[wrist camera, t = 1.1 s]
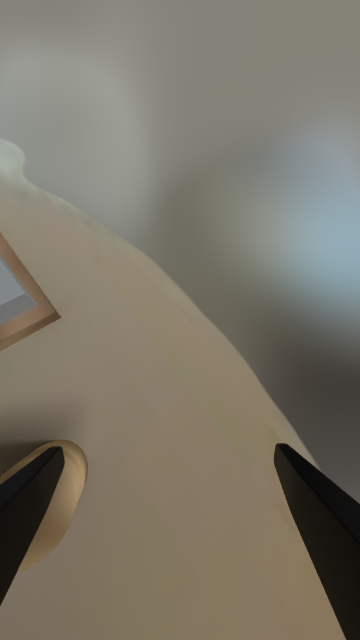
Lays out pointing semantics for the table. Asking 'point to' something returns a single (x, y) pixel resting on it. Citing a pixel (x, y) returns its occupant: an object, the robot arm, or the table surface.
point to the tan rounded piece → (55, 499)
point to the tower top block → (12, 294)
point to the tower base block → (31, 318)
